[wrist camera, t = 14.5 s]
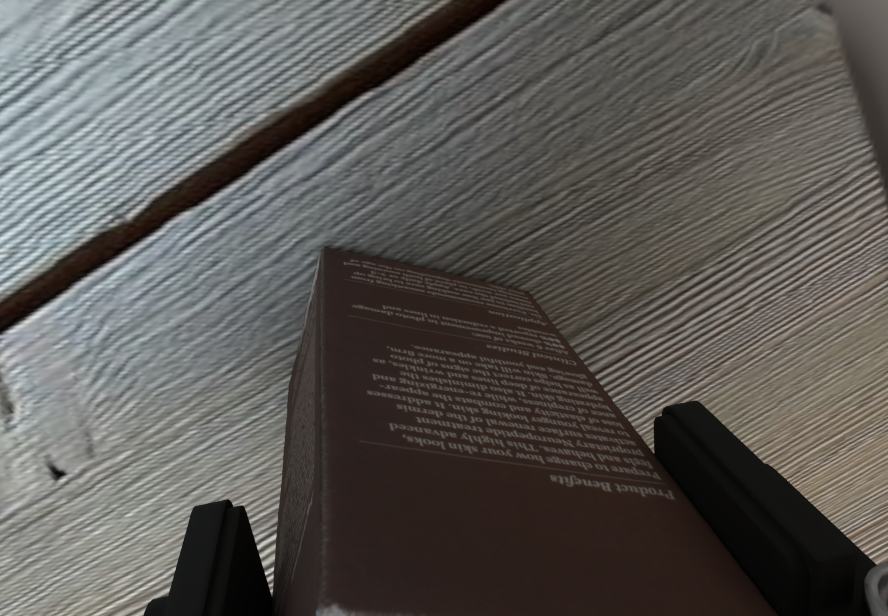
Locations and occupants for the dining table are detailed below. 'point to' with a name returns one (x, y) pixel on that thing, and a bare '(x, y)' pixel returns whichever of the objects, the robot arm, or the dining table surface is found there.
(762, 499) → the robot arm
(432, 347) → the box
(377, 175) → the dining table surface
